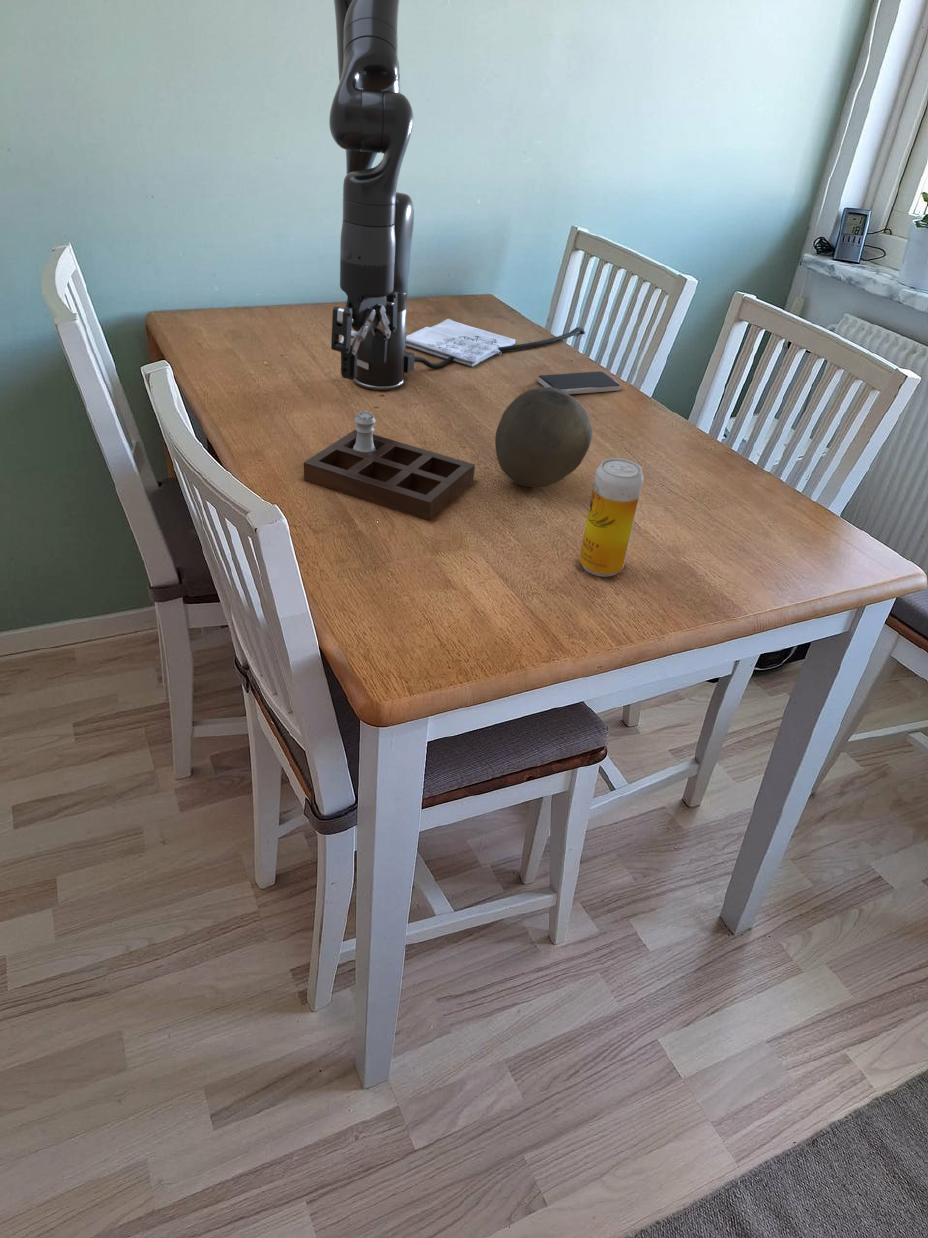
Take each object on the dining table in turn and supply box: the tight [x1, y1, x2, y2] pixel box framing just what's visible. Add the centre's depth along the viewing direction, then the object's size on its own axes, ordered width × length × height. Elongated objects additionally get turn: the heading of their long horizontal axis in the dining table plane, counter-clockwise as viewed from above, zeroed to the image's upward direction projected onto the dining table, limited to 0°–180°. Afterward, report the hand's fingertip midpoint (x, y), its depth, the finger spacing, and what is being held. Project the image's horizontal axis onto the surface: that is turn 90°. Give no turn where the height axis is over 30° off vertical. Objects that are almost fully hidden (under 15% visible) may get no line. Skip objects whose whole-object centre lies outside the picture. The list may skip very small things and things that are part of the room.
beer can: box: [579, 457, 644, 578], centre depth 118 cm, size 6×6×15 cm
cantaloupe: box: [494, 386, 593, 488], centre depth 136 cm, size 14×14×15 cm
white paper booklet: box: [406, 318, 516, 368], centre depth 189 cm, size 19×20×2 cm
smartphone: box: [537, 371, 622, 395], centre depth 177 cm, size 8×1×15 cm
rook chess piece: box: [353, 410, 377, 454], centre depth 139 cm, size 4×4×8 cm
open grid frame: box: [303, 428, 476, 521], centre depth 136 cm, size 15×21×3 cm
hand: (364, 370), depth 133 cm, fingers open, 8 cm apart
